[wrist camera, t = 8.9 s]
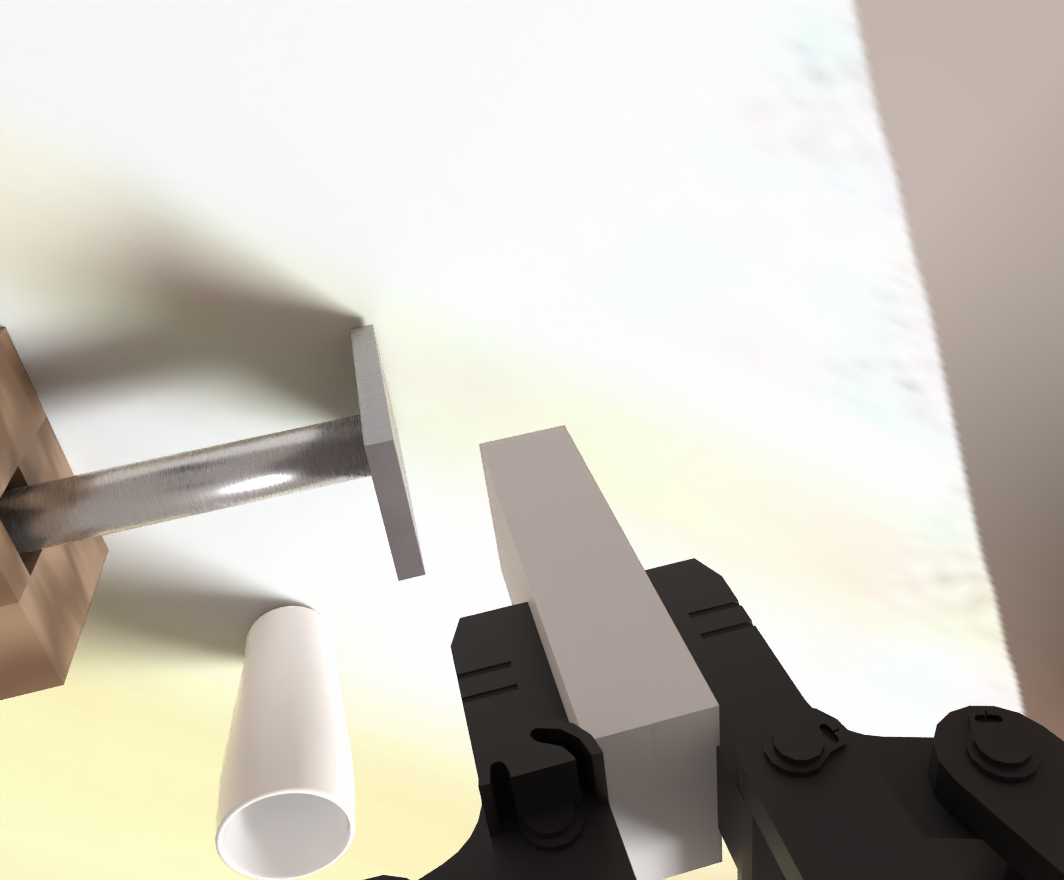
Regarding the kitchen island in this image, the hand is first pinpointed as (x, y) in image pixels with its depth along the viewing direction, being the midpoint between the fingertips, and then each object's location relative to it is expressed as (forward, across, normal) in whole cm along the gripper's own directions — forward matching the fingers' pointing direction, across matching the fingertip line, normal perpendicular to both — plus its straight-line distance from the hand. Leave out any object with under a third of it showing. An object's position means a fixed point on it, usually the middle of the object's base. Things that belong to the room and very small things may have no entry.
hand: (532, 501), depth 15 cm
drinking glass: (+33, -12, -28) cm, 45 cm away
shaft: (+32, -15, -12) cm, 37 cm away
